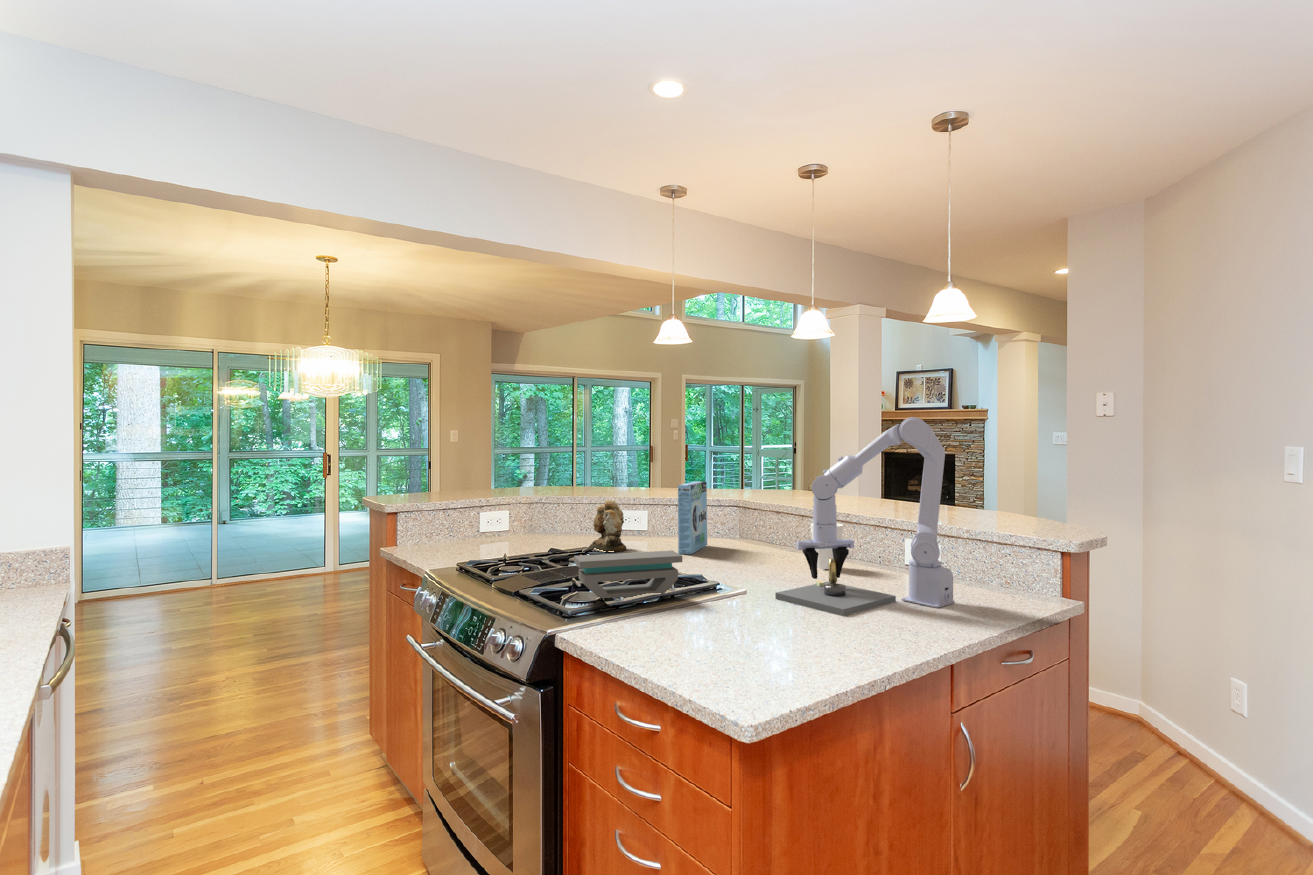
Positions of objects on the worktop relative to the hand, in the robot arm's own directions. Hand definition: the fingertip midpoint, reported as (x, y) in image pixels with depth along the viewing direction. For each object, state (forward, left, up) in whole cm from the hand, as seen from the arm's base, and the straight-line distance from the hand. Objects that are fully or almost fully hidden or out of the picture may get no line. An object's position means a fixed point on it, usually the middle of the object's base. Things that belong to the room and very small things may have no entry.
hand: (825, 577), depth 174 cm
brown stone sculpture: (+89, +6, -4) cm, 89 cm away
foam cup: (+20, -26, -4) cm, 33 cm away
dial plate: (-6, +4, -4) cm, 8 cm away
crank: (-4, +2, -2) cm, 5 cm away
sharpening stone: (+25, +43, -4) cm, 50 cm away
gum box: (+69, -16, -4) cm, 71 cm away
